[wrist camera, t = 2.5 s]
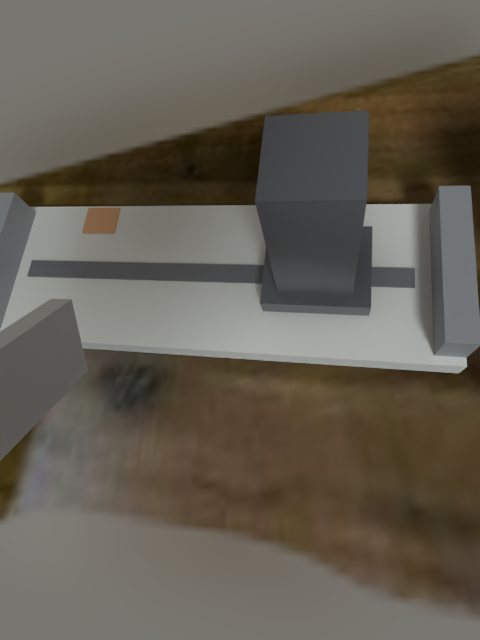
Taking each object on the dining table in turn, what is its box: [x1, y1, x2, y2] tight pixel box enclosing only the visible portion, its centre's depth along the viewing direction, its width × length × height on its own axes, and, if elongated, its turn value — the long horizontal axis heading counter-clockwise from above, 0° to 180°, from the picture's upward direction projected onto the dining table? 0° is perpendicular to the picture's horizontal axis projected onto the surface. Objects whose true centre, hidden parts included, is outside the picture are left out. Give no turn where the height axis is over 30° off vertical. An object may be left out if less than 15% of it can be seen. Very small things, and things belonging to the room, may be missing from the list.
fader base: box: [0, 186, 480, 373], centre depth 27 cm, size 30×10×4 cm, turn 83°
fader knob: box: [255, 111, 372, 316], centre depth 21 cm, size 6×5×10 cm
